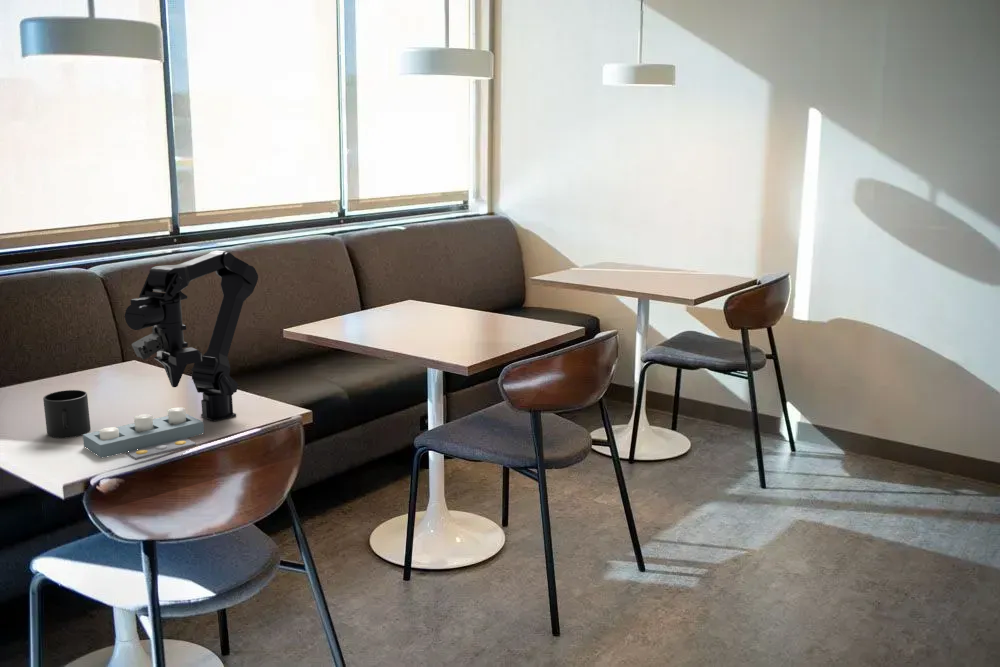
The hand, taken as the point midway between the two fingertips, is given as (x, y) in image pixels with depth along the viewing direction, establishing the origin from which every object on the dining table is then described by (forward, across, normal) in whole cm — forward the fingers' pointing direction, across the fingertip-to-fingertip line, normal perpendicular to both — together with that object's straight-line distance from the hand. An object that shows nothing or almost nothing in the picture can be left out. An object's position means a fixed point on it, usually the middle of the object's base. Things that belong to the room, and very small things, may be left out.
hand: (174, 386), depth 227 cm
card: (+11, +9, -8) cm, 16 cm away
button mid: (+9, 0, -8) cm, 12 cm away
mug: (+11, -17, -19) cm, 28 cm away
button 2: (+9, 0, 0) cm, 9 cm away
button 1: (+10, 0, -16) cm, 19 cm away
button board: (+11, 0, -8) cm, 14 cm away
